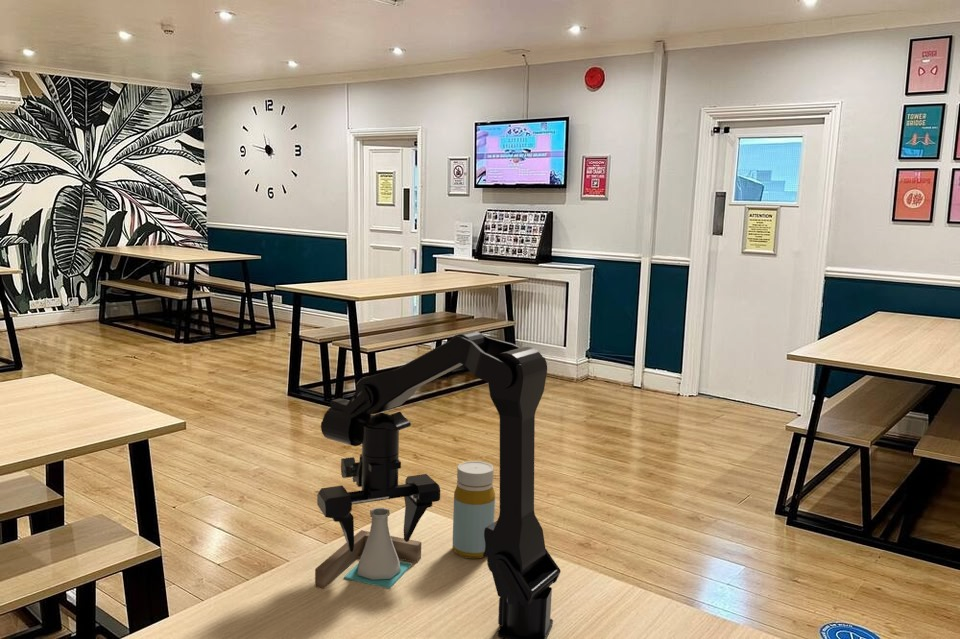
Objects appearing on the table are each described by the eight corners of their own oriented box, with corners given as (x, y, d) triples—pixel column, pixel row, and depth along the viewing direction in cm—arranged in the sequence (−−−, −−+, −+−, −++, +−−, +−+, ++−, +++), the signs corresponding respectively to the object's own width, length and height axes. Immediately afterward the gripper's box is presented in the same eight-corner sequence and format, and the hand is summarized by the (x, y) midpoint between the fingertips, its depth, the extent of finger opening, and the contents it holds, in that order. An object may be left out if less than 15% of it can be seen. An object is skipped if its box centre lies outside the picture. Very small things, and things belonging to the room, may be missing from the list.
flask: (349, 578, 115) (350, 518, 114) (364, 557, 122) (364, 500, 121) (394, 583, 114) (395, 522, 113) (406, 562, 121) (407, 504, 120)
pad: (411, 565, 121) (411, 563, 121) (390, 588, 113) (390, 586, 113) (367, 556, 123) (367, 554, 123) (344, 578, 116) (344, 576, 116)
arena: (420, 558, 123) (421, 541, 123) (381, 602, 109) (381, 583, 109) (360, 546, 127) (361, 530, 126) (315, 587, 113) (315, 568, 113)
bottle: (446, 545, 129) (448, 462, 126) (482, 538, 132) (485, 458, 129) (462, 563, 122) (465, 476, 120) (499, 555, 125) (503, 471, 123)
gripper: (417, 431, 127) (415, 517, 129) (308, 443, 118) (309, 534, 121) (442, 451, 117) (440, 543, 119) (326, 465, 109) (326, 564, 111)
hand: (379, 545), depth 118 cm, fingers open, 9 cm apart
